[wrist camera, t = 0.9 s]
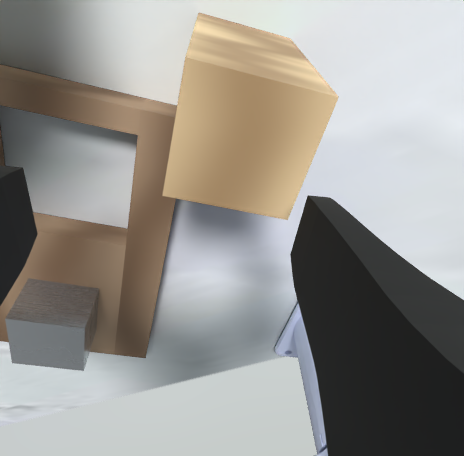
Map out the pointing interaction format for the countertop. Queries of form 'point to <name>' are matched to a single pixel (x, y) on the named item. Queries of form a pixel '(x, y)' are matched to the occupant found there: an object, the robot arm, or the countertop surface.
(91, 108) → the brown wooden frame
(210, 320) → the countertop surface
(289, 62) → the oak peg
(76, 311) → the gray cube
